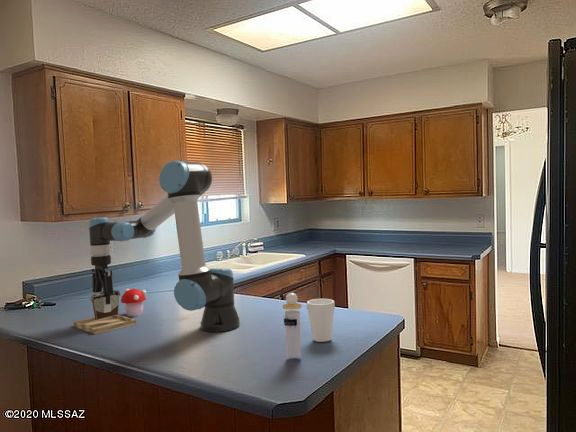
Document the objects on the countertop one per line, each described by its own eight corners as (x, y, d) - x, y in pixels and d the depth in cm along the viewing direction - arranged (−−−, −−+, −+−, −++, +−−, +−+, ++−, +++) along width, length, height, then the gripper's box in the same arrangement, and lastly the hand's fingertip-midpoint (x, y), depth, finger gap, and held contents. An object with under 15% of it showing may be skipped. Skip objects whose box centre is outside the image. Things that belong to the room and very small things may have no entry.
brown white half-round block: (113, 312, 192) (112, 289, 191) (121, 314, 188) (120, 290, 188) (85, 318, 182) (84, 294, 182) (93, 321, 178) (91, 296, 178)
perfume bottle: (288, 353, 142) (286, 290, 141) (306, 354, 140) (303, 291, 139) (282, 359, 136) (279, 294, 136) (299, 361, 134) (297, 295, 134)
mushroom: (151, 314, 201) (150, 287, 200) (128, 319, 193) (127, 292, 192) (139, 310, 208) (138, 285, 208) (116, 316, 200) (115, 289, 200)
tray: (135, 324, 185) (135, 319, 185) (95, 334, 172) (94, 329, 172) (113, 317, 198) (112, 313, 198) (73, 326, 186) (73, 321, 186)
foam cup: (315, 344, 149) (314, 306, 149) (303, 337, 158) (302, 300, 157) (340, 340, 153) (339, 302, 152) (327, 333, 161) (326, 297, 161)
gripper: (120, 255, 180) (123, 312, 181) (99, 252, 193) (102, 305, 194) (102, 257, 175) (105, 316, 176) (81, 254, 188) (84, 309, 189)
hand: (103, 310), depth 185 cm, fingers closed on brown white half-round block, 6 cm apart
